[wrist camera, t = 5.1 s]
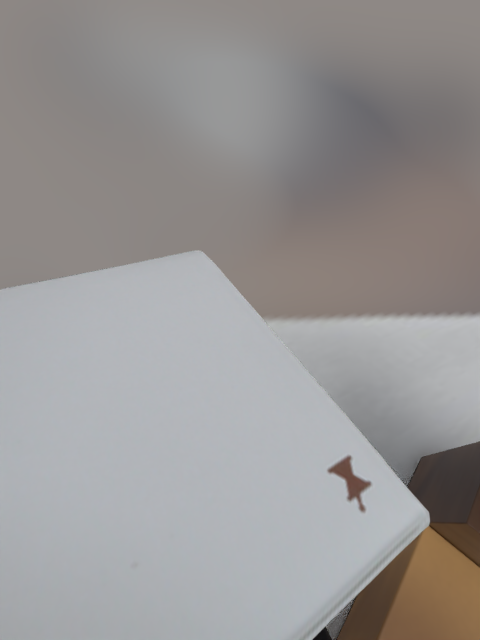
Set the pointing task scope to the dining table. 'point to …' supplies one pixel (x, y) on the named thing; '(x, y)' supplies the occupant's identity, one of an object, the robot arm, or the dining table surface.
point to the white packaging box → (177, 467)
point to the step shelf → (431, 562)
